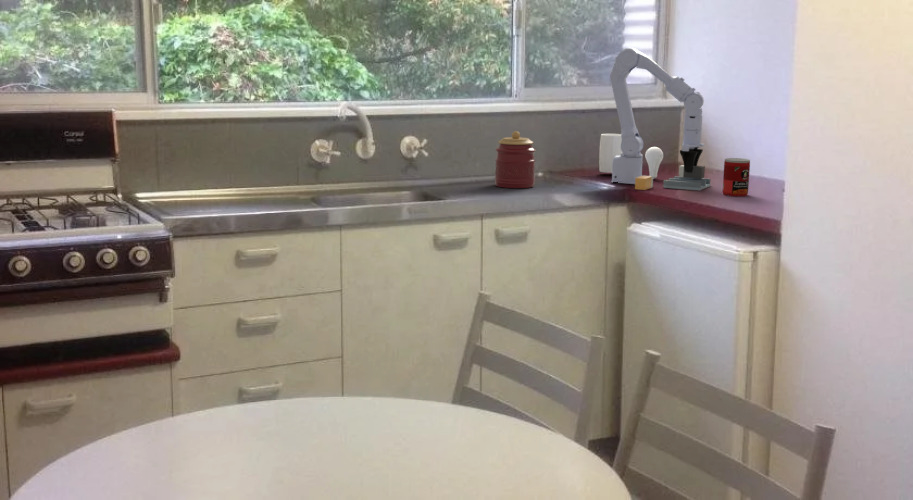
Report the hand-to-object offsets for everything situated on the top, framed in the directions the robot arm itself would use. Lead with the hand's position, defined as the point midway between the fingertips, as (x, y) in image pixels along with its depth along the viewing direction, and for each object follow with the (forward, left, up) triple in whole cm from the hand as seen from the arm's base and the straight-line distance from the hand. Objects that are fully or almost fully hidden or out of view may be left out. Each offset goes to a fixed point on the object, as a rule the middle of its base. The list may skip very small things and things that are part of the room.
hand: (690, 171), depth 355 cm
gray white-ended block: (0, 0, -2) cm, 2 cm away
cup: (-32, +13, -5) cm, 35 cm away
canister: (-48, -32, -5) cm, 58 cm away
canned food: (+18, -12, -5) cm, 22 cm away
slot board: (0, -3, -5) cm, 6 cm away
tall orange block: (-11, -14, -5) cm, 18 cm away
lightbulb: (-16, +12, -5) cm, 20 cm away
